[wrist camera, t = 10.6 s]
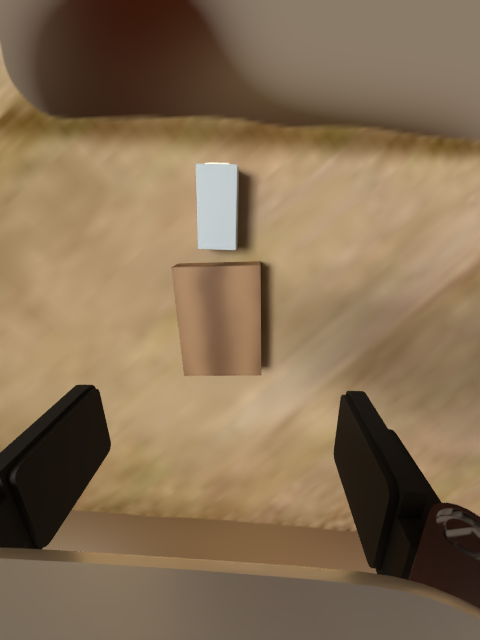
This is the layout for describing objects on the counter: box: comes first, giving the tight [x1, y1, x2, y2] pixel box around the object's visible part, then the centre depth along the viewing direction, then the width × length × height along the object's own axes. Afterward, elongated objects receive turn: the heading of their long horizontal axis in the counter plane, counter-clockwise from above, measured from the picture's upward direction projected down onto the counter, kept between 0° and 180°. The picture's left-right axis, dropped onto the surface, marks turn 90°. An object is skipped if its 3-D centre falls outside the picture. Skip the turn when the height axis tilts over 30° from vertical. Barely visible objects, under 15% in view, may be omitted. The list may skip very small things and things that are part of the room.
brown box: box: [172, 262, 261, 376], centre depth 34 cm, size 10×14×3 cm
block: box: [196, 163, 239, 250], centre depth 29 cm, size 4×4×8 cm
